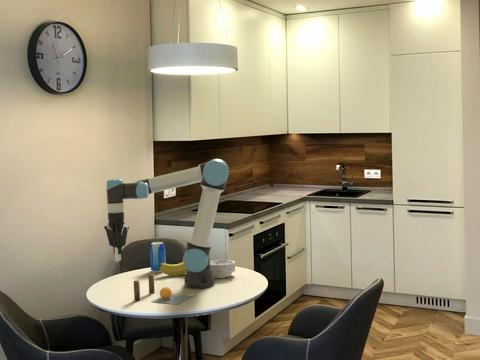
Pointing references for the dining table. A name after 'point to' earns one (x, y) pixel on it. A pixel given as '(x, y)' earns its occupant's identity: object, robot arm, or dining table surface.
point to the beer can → (157, 256)
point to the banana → (173, 269)
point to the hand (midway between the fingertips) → (118, 260)
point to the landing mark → (173, 299)
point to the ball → (165, 293)
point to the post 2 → (151, 283)
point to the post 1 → (136, 291)
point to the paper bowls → (222, 268)
